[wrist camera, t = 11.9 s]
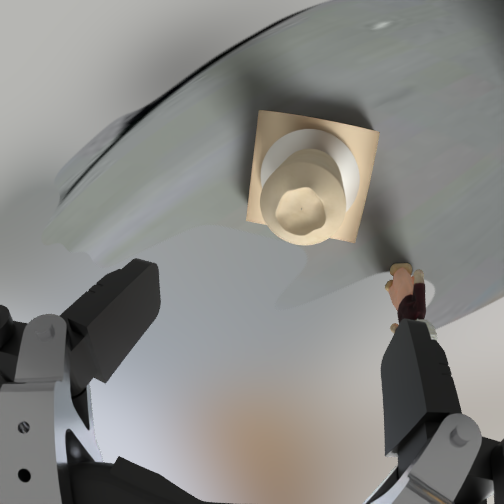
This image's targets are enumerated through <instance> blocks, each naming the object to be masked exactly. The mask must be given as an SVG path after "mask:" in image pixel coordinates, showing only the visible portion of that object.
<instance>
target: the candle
mask: <svg viewBox="0 0 504 504" xmlns="http://www.w3.org/2000/svg"><path fill="white" fill-rule="evenodd" d="M260 208H261V213H262V216H263V218H264V221H265V223H266V224H267V226H268V227H269V228H270V230H271V231H272V232H273V233H274V234H275V235H277V236H278V237H279V238H281V239H283V240H285V241H287V242H289V243H293V244H297V245H313V244H317V243H320V242H323V241H325V240H326V239H328V238H330V237H331V236H332V235H333V234H334V233H335V232H336V231H337V230H338V229H339V227H340V226H341V224H342V222H343V220H344V217H345V213H346V197H345V191H344V186H343V181H342V176H341V172H340V169H339V167H338V165H337V163H336V162H335V161H334V159H333V158H332V157H331V156H329V155H328V154H326V153H325V152H323V151H320V150H317V149H302V150H299V151H297V152H295V153H293V154H292V155H290V156H289V157H288V158H287V159H286V160H285V161H284V162H283V163H282V164H281V165H280V166H279V167H278V168H277V169H276V170H275V171H274V172H273V173H272V174H271V175H270V176H269V178H268V179H267V180H266V182H265V184H264V186H263V188H262V191H261V196H260Z"/></svg>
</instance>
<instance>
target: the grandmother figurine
mask: <svg viewBox="0 0 504 504" xmlns="http://www.w3.org/2000/svg"><path fill="white" fill-rule="evenodd" d="M390 274H391V275H392V276H393V280H390V281H388V282H387V284H386V285H385V289H386V290H387V291H388V292H389V294H390V297H391V300H392V303H393V305H394V306H395V308H396V310H397V311H398V320H399V323H400V322H401V320H402V319H404V318H405V319H410V320H416V321H422V322H425V323H426V324H427V327H428V330H429V333H430V336H431V339H434V340H436V341H437V333H436V331H435V329H434V326H433V325H432V324H431V323H430V322H428V321H427V320H424V317H425V314H426V304H425V284H424V279H423V277H424V273H423V271H422V270H416V271H415V272H414V276H412V277H411V274H412V267H411V265H410V264H408V263H395V264H393V265H392V266H391V268H390ZM397 327H398V324H396V323H394V324H392V325H391V327H390V329H391V331H392V332H393V333H394V334H395V332H396V330H397Z"/></svg>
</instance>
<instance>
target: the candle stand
mask: <svg viewBox="0 0 504 504" xmlns="http://www.w3.org/2000/svg"><path fill="white" fill-rule="evenodd" d="M379 133H380V132H377V131H374V130H370V129H366V128H362V127H358V126H353V125H349V124H344V123H339V122H334V121H329V120H324V119H319V118H313V117H307V116H301V115H295V114H288V113H281V112H274V111H266V110H259V114H258V122H257V131H256V139H255V148H254V156H253V165H252V173H251V182H250V191H249V200H248V209H247V218H246V221H250V222H255V223H260V224H265V225H267V224H266V223H265V221H264V218H263V216H262V213H261V208H260V196H261V191H262V188H263V186H264V184H265V182H266V180H267V179H268V178H269V176H270V175H271V174H272V173H273V172H274V171H275V170H276V169H277V168H278V167H279V166H280V165H281V164H282V163H283V162H284V161H285V160H286V159H287V158H288V157H289V156H290V155H292V154H293V153H295V152H297V151H299V150H302V149H317V150H320V151H323V152H325V153H326V154H328V155H329V156H331V157H332V158H333V159H334V161H335V162H336V163H337V165H338V167H339V169H340V172H341V176H342V181H343V186H344V191H345V197H346V213H345V217H344V220H343V222H342V224H341V226H340V227H339V229H338V230H337V231H336V232H335V233H334V234H333V235H332V236H331V237H330V238H334V239H338V240H343V241H348V242H352V243H355V240H356V237H357V233H358V229H359V225H360V221H361V217H362V213H363V209H364V205H365V201H366V197H367V192H368V188H369V183H370V179H371V174H372V169H373V165H374V160H375V155H376V149H377V144H378V139H379Z"/></svg>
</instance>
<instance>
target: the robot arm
mask: <svg viewBox="0 0 504 504" xmlns="http://www.w3.org/2000/svg"><path fill="white" fill-rule="evenodd" d="M160 303H161V300H160V287H159V270H158V266H157V264H155V263H152V262H149V261H145V260H141V259H137V258H136V259H133V260H132V261H131V262H129V263H128V264H127V265H126V266H125V267H124V268H122V269H118V270H116V271H114V272H111V273H109V274H107V275H105V276H104V277H103V278H102V279H101V280H99V281H98V282H97V284H96V285H94V286H92V287H91V288H90V289H89V291H88V292H86V293H85V294H83V295H82V296H81V297H80V298H79V299H78V300H76V301H75V302H74V303H73V304H72V305H71V306H70V307H69V308H68V309H66V310H65V311H64V312H63V313H62V314H61V315H60V316H58V315H55V314H45V315H41V316H38V317H36V318H34V319H33V320H31V321H30V322H29V323H28V324H27V323H22V322H16V321H13V320H12V317H11V315H10V313H9V310H8V309H7V307H5V306H2V305H0V504H229V503H212V502H204V501H201V500H199V499H197V498H195V497H194V496H192V495H190V494H189V493H187V492H185V491H184V490H182V489H181V488H179V487H178V486H176V485H175V484H173V483H171V482H170V481H169V480H167V479H165V478H164V477H163V476H161V475H160V474H158V473H155V472H153V471H150V470H148V469H145V468H143V467H141V466H139V465H137V464H134V463H132V462H130V461H128V460H126V459H124V458H122V457H120V456H119V457H118V458H117V460H116V462H115V463H114V464H112V463H105V462H103V458H102V455H101V452H100V449H99V446H98V444H97V441H96V437H95V431H94V423H93V414H92V403H91V390H90V385H89V382H90V381H91V380H92V379H93V377H94V378H96V379H98V380H100V381H102V382H104V383H106V382H107V381H108V380H109V378H110V377H111V376H112V374H113V373H114V372H115V370H116V369H117V368H118V366H119V365H120V364H121V362H122V361H123V360H124V359H125V357H126V356H127V354H128V353H129V352H130V351H131V349H132V348H133V347H134V346H135V344H136V343H137V342H138V340H139V339H140V338H141V336H142V335H143V334H144V332H145V331H146V330H147V329H148V328H149V326H150V325H151V324H152V322H153V321H154V320H155V319H156V317H157V315H158V313H159V309H160ZM381 379H382V392H383V408H384V430H385V456H387V457H398V465H397V466H395V467H394V469H393V470H392V471H391V472H390V473H389V475H388V476H387V477H386V478H385V479H384V480H383V482H382V483H381V484H380V485H379V486H378V487H377V488H376V490H375V491H374V492H373V493H372V494H371V495H370V496H369V497H368V498H367V500H365V501H364V503H363V504H487V498H488V497H490V496H491V495H493V494H494V502H495V503H494V504H504V439H503V440H502V441H501V442H498V441H495V440H492V439H488V438H485V437H482V436H481V432H480V429H479V427H478V425H477V424H476V423H475V422H474V420H472V419H471V418H470V417H468V416H466V415H463V414H462V412H461V408H460V404H459V400H458V396H457V392H456V388H455V385H454V381H453V378H452V377H451V371H450V367H449V366H448V361H447V358H446V355H445V352H444V350H443V349H442V347H441V346H440V345H439V343H438V342H437V341H436V340H434V339H431V336H430V333H429V330H428V327H427V324H426V323H425V322H422V321H416V320H410V319H405V318H404V319H402V320H401V322H400V323H399V325H398V327H397V330H396V332H395V334H394V336H393V338H392V340H391V342H390V344H389V346H388V348H387V350H386V352H385V354H384V356H383V360H382V364H381Z"/></svg>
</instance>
